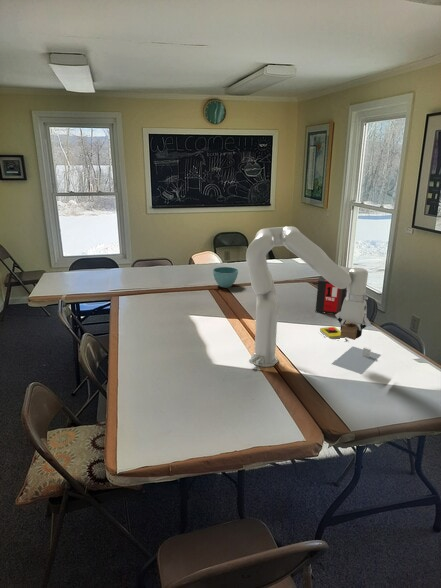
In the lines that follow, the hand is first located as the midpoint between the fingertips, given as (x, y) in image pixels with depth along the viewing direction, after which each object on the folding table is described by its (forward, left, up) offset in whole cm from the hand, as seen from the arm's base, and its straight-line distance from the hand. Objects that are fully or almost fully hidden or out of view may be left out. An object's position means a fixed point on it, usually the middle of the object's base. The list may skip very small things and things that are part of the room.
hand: (350, 334), depth 180 cm
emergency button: (+26, +19, -16) cm, 36 cm away
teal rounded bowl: (+57, +118, -16) cm, 132 cm away
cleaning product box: (+60, +37, -16) cm, 72 cm away
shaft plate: (+6, -2, -15) cm, 17 cm away
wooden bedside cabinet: (0, 0, -1) cm, 1 cm away
